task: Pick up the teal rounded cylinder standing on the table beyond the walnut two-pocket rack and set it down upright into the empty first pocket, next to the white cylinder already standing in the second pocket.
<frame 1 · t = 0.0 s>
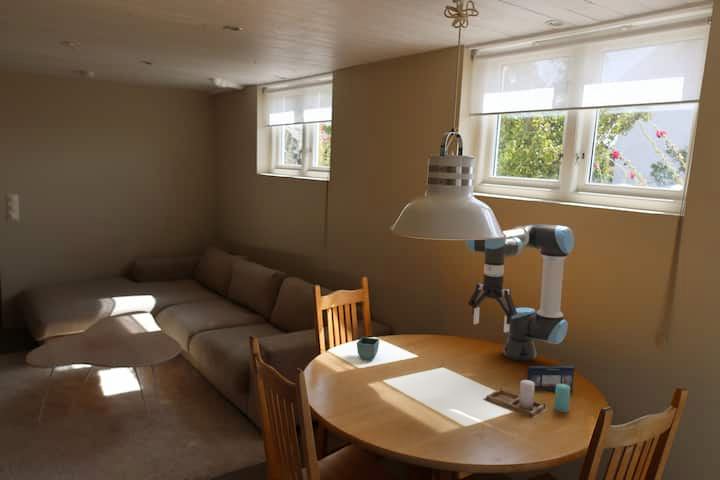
hand: (490, 327, 203), 28 cm above the table, fingers open, 13 cm apart
rack: (515, 406, 197), on the table
white cylinder: (526, 407, 194), point 1 cm above the table, touching rack
flower pot: (367, 359, 243), on the table
teal rounded cylinder: (561, 411, 193), on the table
vhs cassette tape: (549, 390, 212), on the table
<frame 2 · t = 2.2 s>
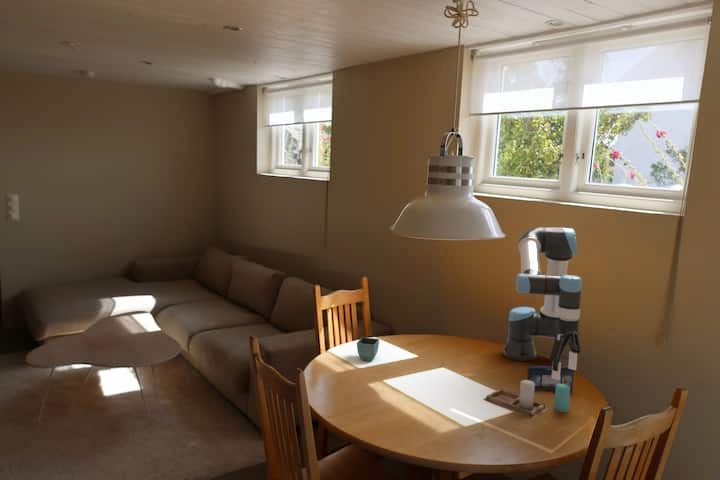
hand: (564, 373, 191), 15 cm above the table, fingers open, 13 cm apart
nothing on the table moved.
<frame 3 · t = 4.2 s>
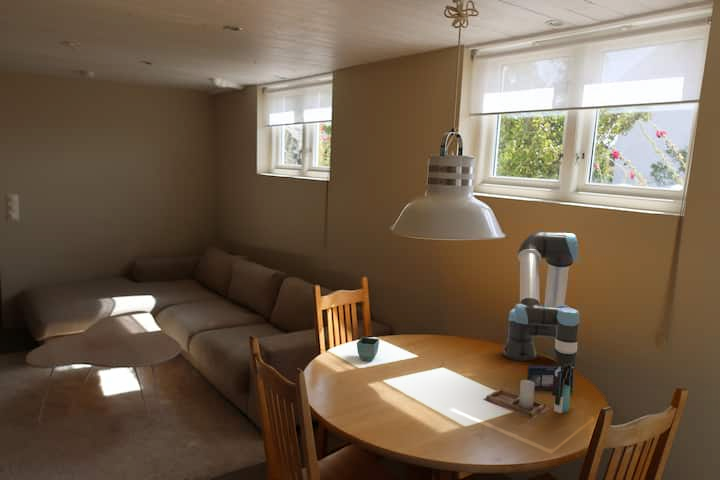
hand: (561, 409, 193), 1 cm above the table, fingers closed on teal rounded cylinder, 5 cm apart
teal rounded cylinder: (561, 411, 193), on the table, touching gripper
everything else where it was.
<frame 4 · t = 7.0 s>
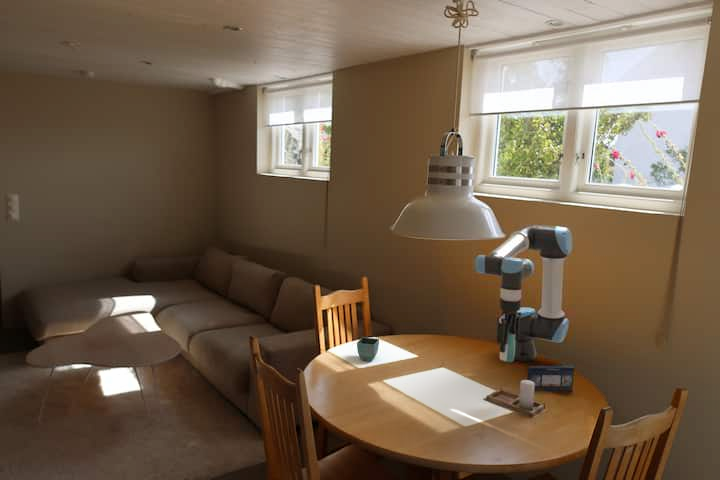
hand: (507, 357, 198), 18 cm above the table, fingers closed on teal rounded cylinder, 5 cm apart
teal rounded cylinder: (506, 359, 198), point 17 cm above the table, touching gripper
everything else where it was.
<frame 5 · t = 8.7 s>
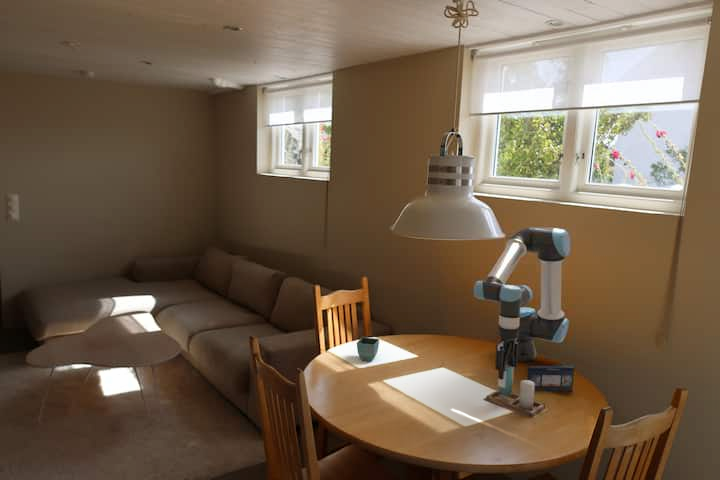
hand: (505, 384, 199), 7 cm above the table, fingers closed on teal rounded cylinder, 5 cm apart
teal rounded cylinder: (505, 391, 200), point 4 cm above the table, touching gripper
everything else where it was.
when the fingers open (4 cm above the table, at t = 9.8 s): teal rounded cylinder stays where it is, resting on rack.
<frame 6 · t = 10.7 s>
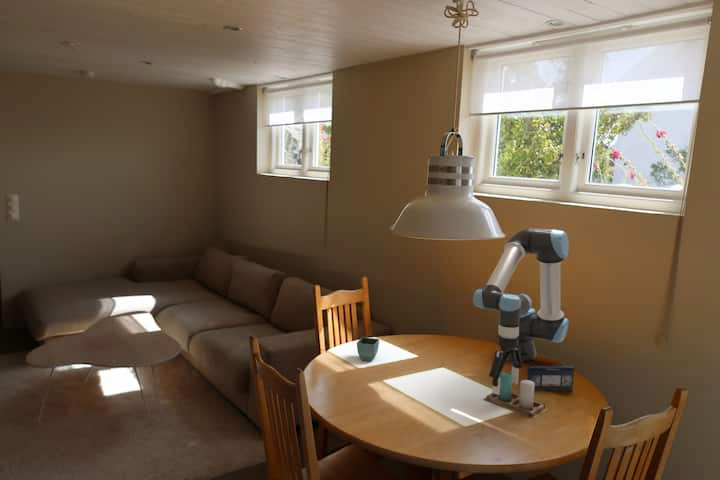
hand: (505, 388, 199), 6 cm above the table, fingers open, 13 cm apart
teal rounded cylinder: (504, 400, 200), point 1 cm above the table, touching rack
everything else where it was.
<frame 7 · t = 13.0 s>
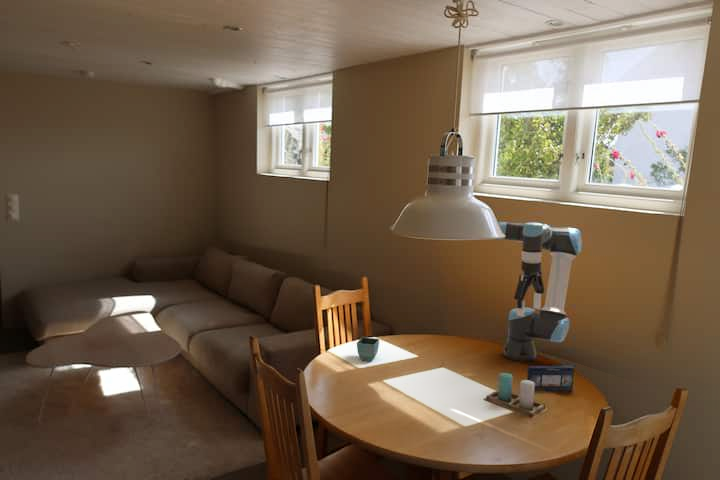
hand: (528, 312, 211), 32 cm above the table, fingers open, 13 cm apart
nothing on the table moved.
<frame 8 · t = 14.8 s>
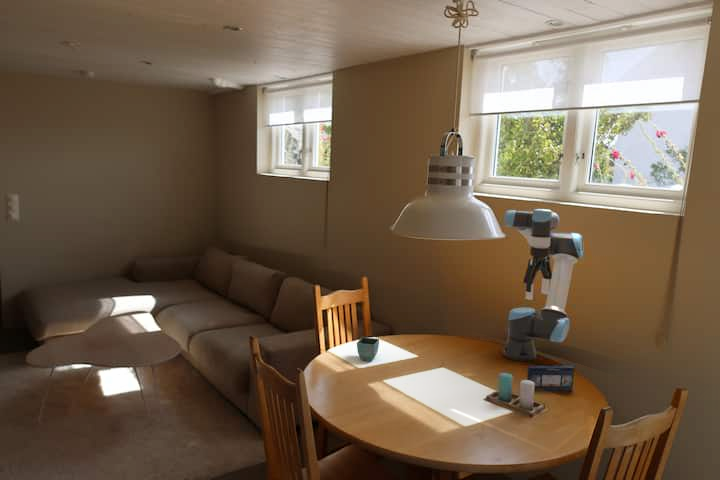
hand: (536, 296, 217), 37 cm above the table, fingers open, 13 cm apart
nothing on the table moved.
at the end: teal rounded cylinder inside the target area on the rack (0.1 cm from its centre), point 1.0 cm above the rack's base; teal rounded cylinder tilted 0°; the gripper is holding nothing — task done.
